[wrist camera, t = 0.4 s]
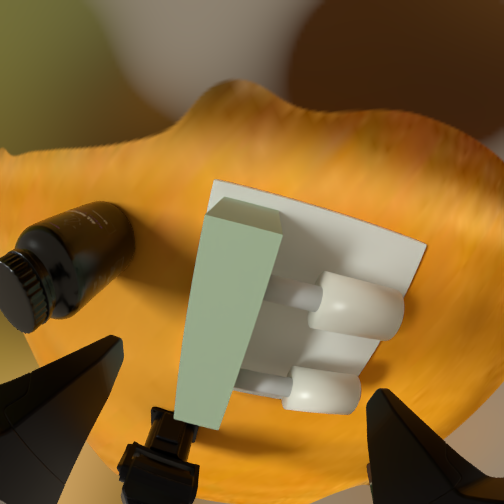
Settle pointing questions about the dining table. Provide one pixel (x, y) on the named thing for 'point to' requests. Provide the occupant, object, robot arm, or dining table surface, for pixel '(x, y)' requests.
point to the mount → (254, 286)
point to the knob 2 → (306, 389)
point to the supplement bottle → (64, 264)
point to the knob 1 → (342, 304)
